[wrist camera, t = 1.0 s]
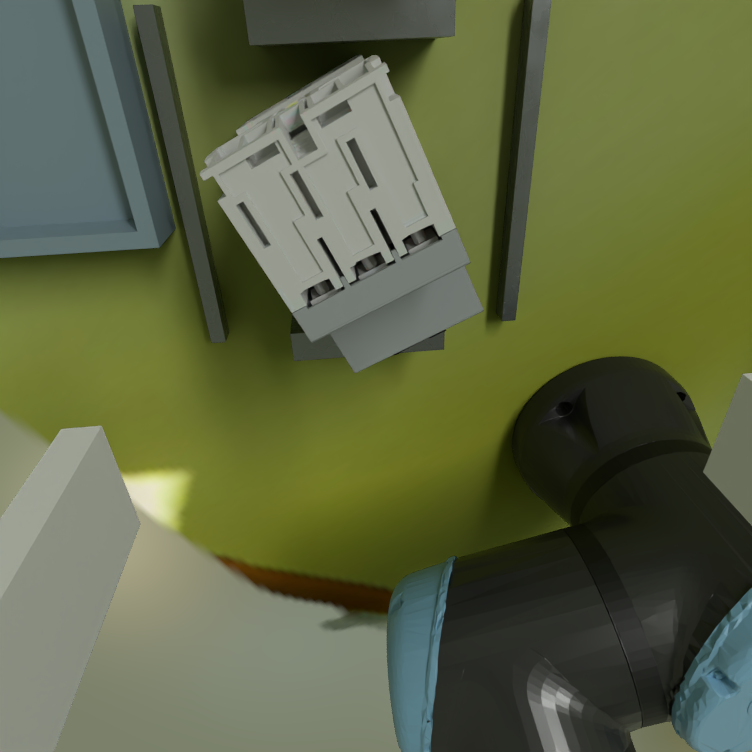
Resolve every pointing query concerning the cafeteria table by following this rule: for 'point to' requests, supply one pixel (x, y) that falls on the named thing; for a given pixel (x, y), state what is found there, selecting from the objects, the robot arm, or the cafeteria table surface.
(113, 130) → the tray
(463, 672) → the robot arm
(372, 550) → the cafeteria table surface
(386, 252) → the circuit breaker
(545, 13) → the grey blocks
